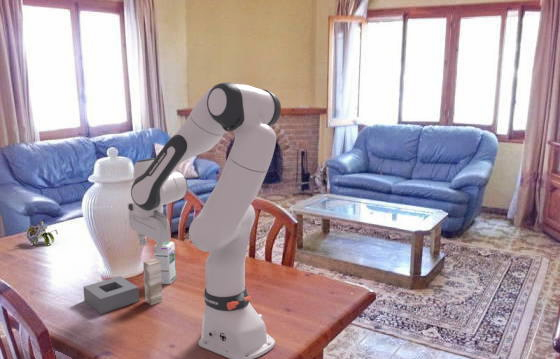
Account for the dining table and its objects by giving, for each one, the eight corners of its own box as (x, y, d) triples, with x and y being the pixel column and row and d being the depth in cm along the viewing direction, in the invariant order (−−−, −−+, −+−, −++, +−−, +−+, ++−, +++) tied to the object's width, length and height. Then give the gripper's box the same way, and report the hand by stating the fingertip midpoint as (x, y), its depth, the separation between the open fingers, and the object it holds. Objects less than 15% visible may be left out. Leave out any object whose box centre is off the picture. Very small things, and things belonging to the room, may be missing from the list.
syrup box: (170, 284, 177) (168, 246, 174) (155, 283, 178) (153, 245, 176) (176, 278, 183) (175, 241, 180) (162, 277, 184) (160, 240, 181)
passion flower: (34, 256, 220) (17, 235, 219) (53, 245, 229) (38, 224, 228) (44, 247, 214) (27, 224, 213) (64, 235, 223) (48, 214, 222)
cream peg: (162, 301, 164) (160, 261, 161) (151, 305, 161) (149, 264, 158) (156, 297, 167) (154, 258, 164) (145, 301, 164) (143, 261, 161)
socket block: (139, 301, 164) (138, 287, 163) (101, 313, 155) (100, 299, 154) (120, 289, 173) (120, 276, 172) (84, 300, 164) (83, 286, 163)
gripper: (175, 213, 152) (176, 255, 155) (142, 200, 167) (143, 239, 170) (157, 216, 148) (158, 260, 151) (124, 203, 162) (126, 243, 165)
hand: (150, 248), depth 160 cm, fingers open, 8 cm apart
